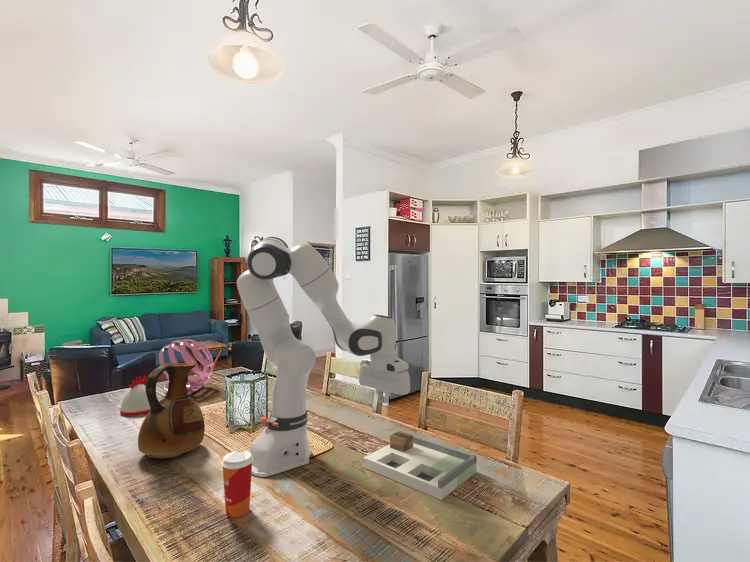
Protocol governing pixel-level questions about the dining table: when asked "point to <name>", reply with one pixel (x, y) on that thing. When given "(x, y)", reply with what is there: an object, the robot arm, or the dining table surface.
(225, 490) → the paper cup
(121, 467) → the dining table surface
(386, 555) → the dining table surface
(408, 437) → the walnut block
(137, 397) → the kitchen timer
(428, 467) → the tray
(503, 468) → the dining table surface
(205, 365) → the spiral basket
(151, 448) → the ceramic pitcher
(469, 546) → the dining table surface
